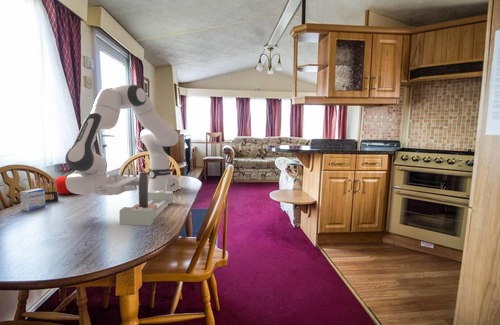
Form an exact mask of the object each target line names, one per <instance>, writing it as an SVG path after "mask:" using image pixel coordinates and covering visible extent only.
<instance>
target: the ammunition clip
mask: <svg viewBox="0 0 500 325" xmlns="http://www.w3.org/2000/svg"><path fill="white" fill-rule="evenodd" d="M56 179H57V178H55V177H54V178H53V180H52V179H51V178H50V177H49V181H48V180H47V178H45V179H44V181H43V179H42V178H40V181H39V179H38V178H36V180H34V179H33V178H32V179H31V180H30V181H31V182H30V190H32V189H37V188H41V189H44V190H45V203H52V202H53V203H54V202H59V193H58V192H57V184H56Z"/></svg>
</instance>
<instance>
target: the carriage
mask: <svg viewBox="0 0 500 325" xmlns="http://www.w3.org/2000/svg"><path fill="white" fill-rule="evenodd" d="M148 176H149V171H148V172H147V171H139V172H138V180H139V185H138V203H136V204H134V205H133V206H132V207H143V208H154V211H156V210H157V205H149V204H148V186H149V181H148V180H149V178H148Z"/></svg>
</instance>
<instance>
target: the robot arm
mask: <svg viewBox="0 0 500 325" xmlns="http://www.w3.org/2000/svg"><path fill="white" fill-rule="evenodd" d="M130 108H131V109H132V111H133V113H134V115H135V116H136V119H137V120H138V122H139V125H141V126H142V127H143V128H144V129H142V130H141V131H140V134H139V139H140V141H141V143H143V144H144V146H145V148H146V150H147V153H148V156H149V169H148V176H149V178H148V180H149V181H148V192H149V191H171V192H173V191H175V192H177V191H176V190H178V189H180V190H182V189H181V188H183V189H184V187H183V186H181V185H180V181H179V179H178V178H177V177H175V176H174V175H173V174H172V173H173V172H174V171H175V170H174V168H170V166H169V165H170V163H169V162H170V161H169V159H170V158H169V157H170V156H169V155H168V154H167V153H166V152H165V150H164V148H163V147H166V148H167V147H172V146H175V145H177V144H178V142H179V140H180V138H179V133H178V131H177V130H175V129H174V128H172V127H170V126H169V125H168V124H167V123H166V122H165V121H164V120H163V119H162V118H161V117H160V115H159V114H158V111H157V110H156V108H155V106H154V104H153V103H152V101H151V99H150V98H149V96H148V95H147V93H146V90H145V89H144V88H143V87H142V86H140V85H137V84H131V85H121V86H117V87H109V88H103V89H100V91H99V93H98V95H97V96H96V98H95V101H94V104H93V106H92V110H91V111H90V113H89V114H88V115H87V116H85V118H84V120H83V123H82V124H81V127H80V128H79V129H80V130H79V131H78V133H77V136H76V138H75V140H74V142H73V144H72V146H70V148H69V149H68V151H67V152H66V153H65V164H66V166H67V167H68V168H69V169H71V170H73V172H72V173H71V174H69V175H68V177H67V178H66V187H67V189H68V190H69V191H70V192H72V193H71V194H77V195H85V196H87V195H89V196H90V195H97V196H115V195H116V196H117V195H121V194H122V193H125V192H132V191H137V189H138V188H137V187H138V186H139V177H136V176H130V175H129V176H128V175H121V174H108V173H107V174H106V171H107V168H108V164H107V160H106V159H105V158H104V157H103V156H102V155H100V154H98V153H97V152H95V151H94V150H93V144H94V143H95V140H96V137H97V134H98V132H99V131H100V130H110V129H113V128H115V126H116V125H117V123H118V121H119V118H120V113H121V110H122V109H130ZM178 191H179V190H178ZM173 193H174V192H173Z"/></svg>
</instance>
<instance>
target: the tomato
mask: <svg viewBox="0 0 500 325" xmlns="http://www.w3.org/2000/svg"><path fill="white" fill-rule="evenodd" d="M68 176H69V175H68V174H67V175H63V176H62V175H61V176H58V177H57V178H55V179H56V184H57V193H58V194H60V195H61V194H62V195H68V194H73V193H72V192H70V191H69V190H68V189H67V187H66V178H67V177H68Z"/></svg>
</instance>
